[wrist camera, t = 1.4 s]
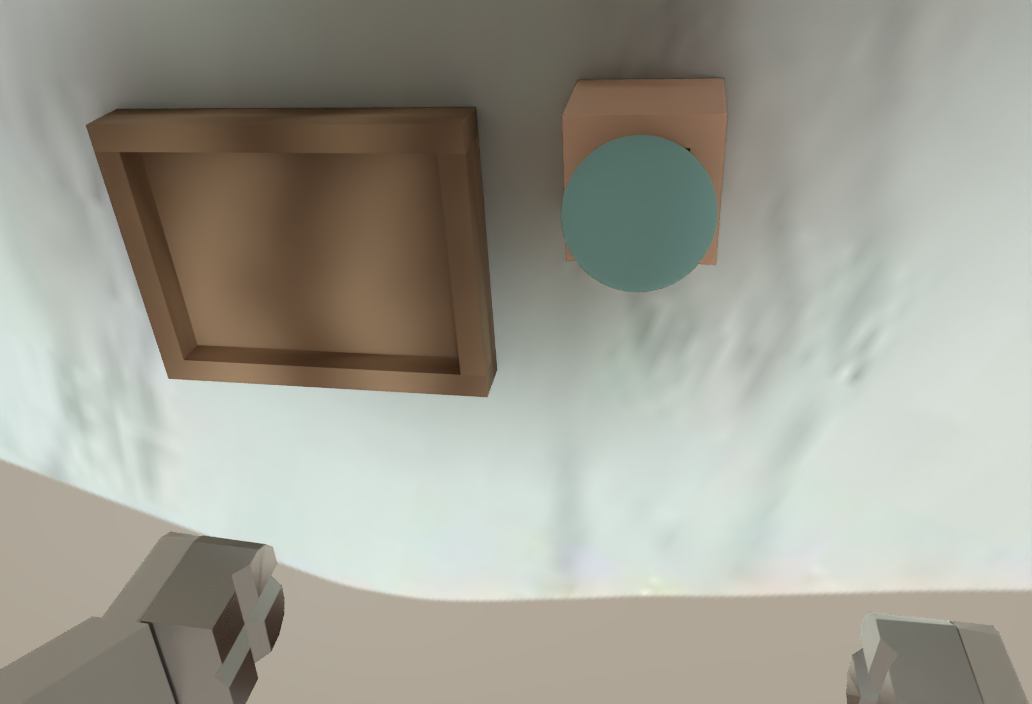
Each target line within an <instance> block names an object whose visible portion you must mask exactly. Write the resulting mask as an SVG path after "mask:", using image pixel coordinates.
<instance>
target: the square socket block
mask: <svg viewBox="0 0 1032 704" xmlns="http://www.w3.org/2000/svg"><path fill="white" fill-rule="evenodd" d="M727 116H728V113H727V104H726V94H725V85H724V78H710V79H616V80H578V81H577V83H576V85H575V87H574V89H573V92H572V94H571V96H570V98H569V101H568V103H567V105H566V107H565V110H564V112H563V114H562V126H563V163H564V192H565V189H566V186H567V184H568V182H569V180H570V178H571V176H572V174H573V172H574V171H575V169H576V168H577V167H578V165H579V164H580V163H581V162H582V161H583V160H584V158H586V157H587V156H588V155H589V154H590V153H591V152H593V151H594V150H595V149H597V148H598V147H600V146H601V145H603V144H605V143H607V142H609V141H611V140H614V139H617V138H620V137H625V136H630V135H652V136H657V137H662V138H665V139H668V140H671V141H673V142H675V143H677V144H679V145H681V146H682V147H684V148H685V149H687V150H688V151H689V152H690V153H691V154H693V155H694V156H695V157H696V158H697V159H698V161H699V162H700V163H701V164H702V165H703V167H704V168H705V170H706V171H707V173H708V174H709V177H710V179H711V181H712V183H713V186H714V190H715V193H716V197H717V204H718V218H717V225H716V231H715V234H714V237H713V240H712V242H711V245H710V247H709V249H708V251H707V252H706V254H705V256H704V257H703V259H702V260H701V261H700V262H699V264H708V265H716V260H717V247H718V234H719V220H720V207H721V194H722V181H723V168H724V155H725V142H726V129H727ZM566 261H576V260H575V259H574V258H573V256H572V254H571V252H570V250H569V249H568V247H567V244H566Z"/></svg>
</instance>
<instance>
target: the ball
mask: <svg viewBox="0 0 1032 704" xmlns="http://www.w3.org/2000/svg"><path fill="white" fill-rule="evenodd" d="M717 218H718V204H717V197H716V193H715V190H714V186H713V183H712V181H711V179H710V177H709V174H708V173H707V171H706V170H705V168H704V167H703V165H702V164H701V163H700V162H699V161H698V159H697V158H696V157H695V156H694V155H693V154H691V153H690V152H689V151H688V150H687V149H685V148H684V147H682V146H681V145H679V144H677V143H675V142H673V141H671V140H668V139H665V138H662V137H657V136H652V135H630V136H625V137H620V138H617V139H614V140H611V141H609V142H607V143H605V144H603V145H601V146H600V147H598V148H597V149H595V150H594V151H593V152H591V153H590V154H589V155H588V156H587V157H586V158H584V160H583V161H582V162H581V163H580V164H579V165H578V167H577V168H576V169H575V171H574V172H573V174H572V176H571V178H570V180H569V182H568V184H567V186H566V189H565V192H564V195H563V201H562V206H561V223H562V230H563V235H564V239H565V241H566V244H567V247H568V249H569V250H570V252H571V254H572V256H573V258H574V259H575V260H576V262H577V263H578V264H579V266H580V267H581V268H582V269H583V270H584V271H585V272H586V273H587V274H589V275H590V276H591V277H592V278H594V279H596V280H597V281H599V282H600V283H602V284H605V285H607V286H609V287H612V288H615V289H618V290H622V291H629V292H646V291H653V290H657V289H661V288H664V287H666V286H669V285H671V284H673V283H675V282H677V281H679V280H680V279H682V278H683V277H685V276H686V275H687V274H688V273H690V272H691V271H692V270H693V269H694V268H695V267H696V266H697V265H698V264H699V262H700V261H701V260H702V259H703V257H704V256H705V254H706V252H707V251H708V249H709V247H710V245H711V242H712V240H713V237H714V234H715V231H716V225H717Z"/></svg>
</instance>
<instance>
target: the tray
mask: <svg viewBox="0 0 1032 704" xmlns="http://www.w3.org/2000/svg"><path fill="white" fill-rule="evenodd" d="M86 127H87V130H88V133H89V136H90V139H91V142H92V145H93V148H94V151H95V155H96V158H97V161H98V164H99V167H100V170H101V173H102V176H103V179H104V182H105V185H106V188H107V191H108V194H109V197H110V201H111V204H112V207H113V210H114V213H115V216H116V219H117V222H118V225H119V228H120V231H121V234H122V237H123V240H124V243H125V247H126V250H127V253H128V256H129V259H130V262H131V265H132V268H133V271H134V274H135V277H136V280H137V283H138V286H139V289H140V293H141V296H142V299H143V302H144V305H145V308H146V311H147V314H148V317H149V320H150V323H151V326H152V329H153V332H154V335H155V339H156V342H157V345H158V348H159V351H160V354H161V357H162V360H163V363H164V366H165V369H166V372H167V375H168V378H169V379H183V380H200V381H218V382H235V383H252V384H270V385H287V386H304V387H321V388H339V389H356V390H373V391H390V392H408V393H425V394H442V395H460V396H477V397H488V394H489V391H490V388H491V385H492V383H493V380H494V377H495V374H496V371H497V363H496V350H495V338H494V325H493V313H492V300H491V288H490V276H489V263H488V251H487V238H486V226H485V213H484V201H483V188H482V176H481V163H480V151H479V138H478V126H477V114H476V107H400V108H200V109H116V110H114V111H112V112H110V113H108V114H106V115H104V116H102V117H100V118H98V119H96V120H95V121H93V122H91V123H89V124H87V125H86Z"/></svg>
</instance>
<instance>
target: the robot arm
mask: <svg viewBox="0 0 1032 704" xmlns="http://www.w3.org/2000/svg"><path fill="white" fill-rule="evenodd" d="M276 565H277V561H276V557H275V554H274V550H273V547H272V546H269V545H266V544H260V543H253V542H246V541H239V540H231V539H224V538H217V537H210V536H199V535H192V534H185V533H177V532H169V533H168V534H167V535H164V536H163V537H161V538H160V539H159V540H158V542H157V543H156V544H155V546H154V547H153V549H152V550H151V551H150V553H149V554H148V556H147V557H146V558H145V559H144V561H143V562H142V564H141V565H140V566H139V568H138V569H137V570H136V572H135V573H134V575H133V576H132V577H131V579H130V580H129V581H128V583H127V584H126V586H125V587H124V588H123V590H122V591H121V592H120V594H119V595H118V596H117V598H116V599H115V601H114V602H113V603H112V605H111V606H110V607H109V609H108V610H107V611H106V613H105V614H104V616H103V617H93V616H92V617H91V618H89V619H87V620H85V621H84V622H82V623H80V624H78V625H77V626H75V627H73V628H71V629H70V630H68V631H67V632H64V633H63V634H61V635H59V636H57V637H56V638H54V639H52V640H51V641H49V642H47V643H45V644H44V645H42V646H40V647H39V648H37V649H35V650H33V651H31V652H30V653H28V654H26V655H24V656H23V657H21V658H19V659H18V660H16V661H14V662H12V663H10V664H9V665H7V666H5V667H4V668H2V669H0V704H246V702H247V700H248V698H249V696H250V694H251V691H252V690H253V688H254V686H255V684H256V682H257V680H258V676H257V672H256V667H255V663H256V662H257V661H259V660H260V659H261V658H263V657H264V656H266V655H267V654H269V653H270V652H271V651H272V649H273V647H274V645H275V642H276V640H277V638H278V636H279V634H280V629H281V625H282V621H283V617H284V594H283V589H282V585H281V584H280V583H278V582H277V581H276V580H275V579H274V578H273V577H272V576H271V574H272V572H273V571H274V569H275V567H276ZM859 633H860V637H861V642H862V646H863V648H862V649H861V650H859V651H858V652H856V653H854V654H853V655H852V658H851V662H850V666H849V670H848V676H847V692H846V695H847V704H1029V702H1028V700H1027V697H1026V695H1025V693H1024V690H1023V688H1022V686H1021V683H1020V681H1019V678H1018V676H1017V673H1016V671H1015V668H1014V666H1013V664H1012V661H1011V659H1010V656H1009V654H1008V652H1007V649H1006V647H1005V644H1004V642H1003V639H1002V638H1001V635H1000V632H999V631H998V630H996V628H995V627H994V626H992V625H984V624H975V623H965V622H956V621H949V622H948V621H947V620H940V619H930V618H920V617H911V616H901V615H891V614H882V613H871V612H868V614H867V615H866V616H865V617H864V619H863V622H862V625H861V628H860V631H859Z"/></svg>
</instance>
